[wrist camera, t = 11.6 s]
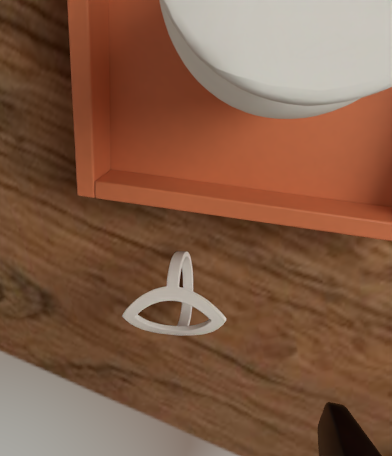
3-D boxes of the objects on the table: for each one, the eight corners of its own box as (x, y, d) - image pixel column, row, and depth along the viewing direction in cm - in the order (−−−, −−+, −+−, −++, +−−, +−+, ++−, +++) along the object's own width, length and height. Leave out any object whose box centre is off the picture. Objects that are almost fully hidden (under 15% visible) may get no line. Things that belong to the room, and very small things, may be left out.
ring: (181, 227, 13) (163, 272, 11) (233, 268, 14) (228, 321, 11) (144, 267, 15) (119, 317, 12) (193, 304, 15) (180, 359, 12)
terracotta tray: (101, 178, 13) (76, 196, 11) (90, -273, 8) (46, -364, 7) (414, 222, 12) (442, 249, 10) (604, -266, 7) (718, -374, 6)
